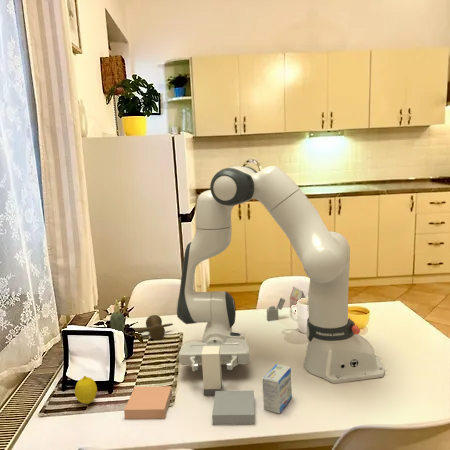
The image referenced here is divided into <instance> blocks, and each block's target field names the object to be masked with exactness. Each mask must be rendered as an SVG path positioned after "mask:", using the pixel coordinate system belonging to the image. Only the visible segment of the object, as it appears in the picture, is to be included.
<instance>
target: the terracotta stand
mask: <svg viewBox="0 0 450 450" xmlns="http://www.w3.org/2000/svg"><path fill="white" fill-rule="evenodd" d="M172 387H173V386H170V385H167V386H166V385H165V386H163V385H162V386H161V385H160V386H135V387H133V390H132V393H131V394H130V397H129V399H127V400H128V401H127V403H126V405H125V407H124V409H123V412H124V413H123V414H124V419H125V420H143V419H144V420H148V419H150V420H151V419H152V420H153V419H154V420H155V419H156V420H158V419H166V417H167V413H168V409H169V408H170V407H169V406H170V403H171V401H170V400H172V398H173V388H172ZM171 397H172V398H171Z"/></svg>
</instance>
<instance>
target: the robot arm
mask: <svg viewBox="0 0 450 450" xmlns="http://www.w3.org/2000/svg"><path fill="white" fill-rule="evenodd" d="M209 186H210V187H209V189H208V190H204V191H203V192H201V193H200V194H199V195H198V196H197V200H196V206H195V215H194V216H195V218H194V219H195V224H194V225H195V231H194V232H195V234H194V236H193V239H192V241H190V242H189V243H188V244H187V245H186V247H185V249H184V254H183V255H184V256H183V262H182V269H181V278H180V286H179V293H178V298H177V302H176V308H175V309H176V310H175V311H176V315H177V316H176V317H177V318H178V319H179V321H181V322H182V323H183V324H185V325H192V324H197V323H198V324H199V323H201V324H202V323H205V324H206V326H205V328H204V333H203V337H202V340H201V342H187V343H186V342H185V343H184V344H183V345H182V346H181V347H180V350H179V352H178V362H179V364H180V365H181V366H190V367H191V369H192V372H195V371H197V372H198V371H199V366H202V350H203V346H220V356H221V365H226V368H227V369H226V370H227V371H233V370H234V367H235V366H237V365H247V364H249V363H250V362H251V361H250V358H251V357H250V356H251V355H250V348H249V343H248V341H247V340H246V338H245V334H243V333H241V332H240V333H239V332H234V331H233V326H234V325H235V323H236V314H237V313H236V311H237V307H236V302H235V299H234V297H233V296H232V295H231V294H230V293H229V292H228V291H224V290H222V291H221V290H220V291H218V290H217V291H215V290H214V291H195V290H194V283H195V274H196V269H197V267H198V265H199V264H201V263H202V262H204V261H206V260H208V259H210V258H213V257H216V256H218V255H220V254H222V253H223V252H224V251H226V250H227V248H228V247H229V245H231V242H232V228H233V227H232V210H233V209H234V207H235V206H237V205H241V204H245V203H247V202H249V201H251V200H253V199H254V200H257V201H259V202H260V203H261V204H262V205H263V207H264V208H265V209H266V211H267V212H268V213H269V215H270V216H271V218H272V219H274V222H276V223H277V225H278V226H279V227H280V229H281V230H282V231H283V233H284V234H285V236H286V237H287V239H288V240H289V242H290V244H291V246H292V248H293V250H294V251H295V254H296V256H297V257H298V259H299V261H300V262H301V264H302V267H303V271H304V272H305V275H306V276H307V277H308V278H309V283H308V284H309V285H308V291H307V292H308V293H307V295H308V296H307V311H308V317H307V321H306V336H307V346H306V347H307V348H306V354H305V357H304V362H303V366H304V369H305V370H307V372H309V373H310V374H312V375H314V376H317V377H320V378H321V379H325V380H327V381H328V382H330V383H333V384H339V383H346V382H347V383H348V382H355V381H362V380H363V381H364V380H369V379H377V378H378V379H379V378H383V377H384V376H385V373H386V372H385V371H386V370H385V366H384V363H383V361H382V360H381V358H380V357H379V356H378V355H376V353H375V350H374V347H373V346H372V344H371V342H370V341H368V339H366V338H365V337H363V336H362V335H360V333H361V330H360V328H359V325H356V323H355V322H354V321H353V320H352V319H351V317H349V283H350V258H351V257H350V255H351V248H350V244H349V242H348V240H347V238H346V237H345V236H344V235H343V234H342V233H339V232H338V231H337V232H336V231H329V229H328V228H327V226H326V225H325V223H324V221H323V219H322V217H321V215H320V213H319V211H318V210H317V208H316V207H315V206H314V205H313V203H312V201H310V199H309V198H308V197H307V195H306V194H305V193H304V192H303V191H302V189H301V188H300V187H299V185H298V184H297V183H296V182H295V181H294V180H293V179H292V178H291V176H289V175H288V174H287V173H286V172H285V171H284V170H282V168H280V167H279V166H277V165H269V166H265V167H263V168H262V169H260V170H259V171H257V170H255V169H254V168H252V167H250V166H248V165H247V166H246V165H244V166H239V165H235V166H234V165H233V166H230V167H225V168H222V169H220V170H219V171H217V172H216V173H215V174H214V176H213V177H212V179H211V182H210V185H209Z"/></svg>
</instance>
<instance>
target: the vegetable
mask: <svg viewBox="0 0 450 450" xmlns="http://www.w3.org/2000/svg"><path fill="white" fill-rule="evenodd" d="M114 300H115V302H114V307H113V311H112V313H111V315H110V319H109V323H110V329H111V328H112V329H115V330H118V331H122V332H123V333H124V328H125V316H124V314H123V313H122V311H121V307H120V303H119V301H118V299H116V298H115V299H114ZM124 347H125V355H126V357H128V347H127V341H126V340H125V344H124Z"/></svg>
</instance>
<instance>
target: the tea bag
mask: <svg viewBox="0 0 450 450" xmlns="http://www.w3.org/2000/svg"><path fill="white" fill-rule="evenodd" d="M301 298H306V299H307V297H306V296H305V294H304V291H303V290H302V289H299V288H297V287H296V286H293V287H292V291H291V293H290V296H289V309H290V308H291V306H292V305H296V304H297V301H298V300H299V299H301ZM295 312H296V310H295Z"/></svg>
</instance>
